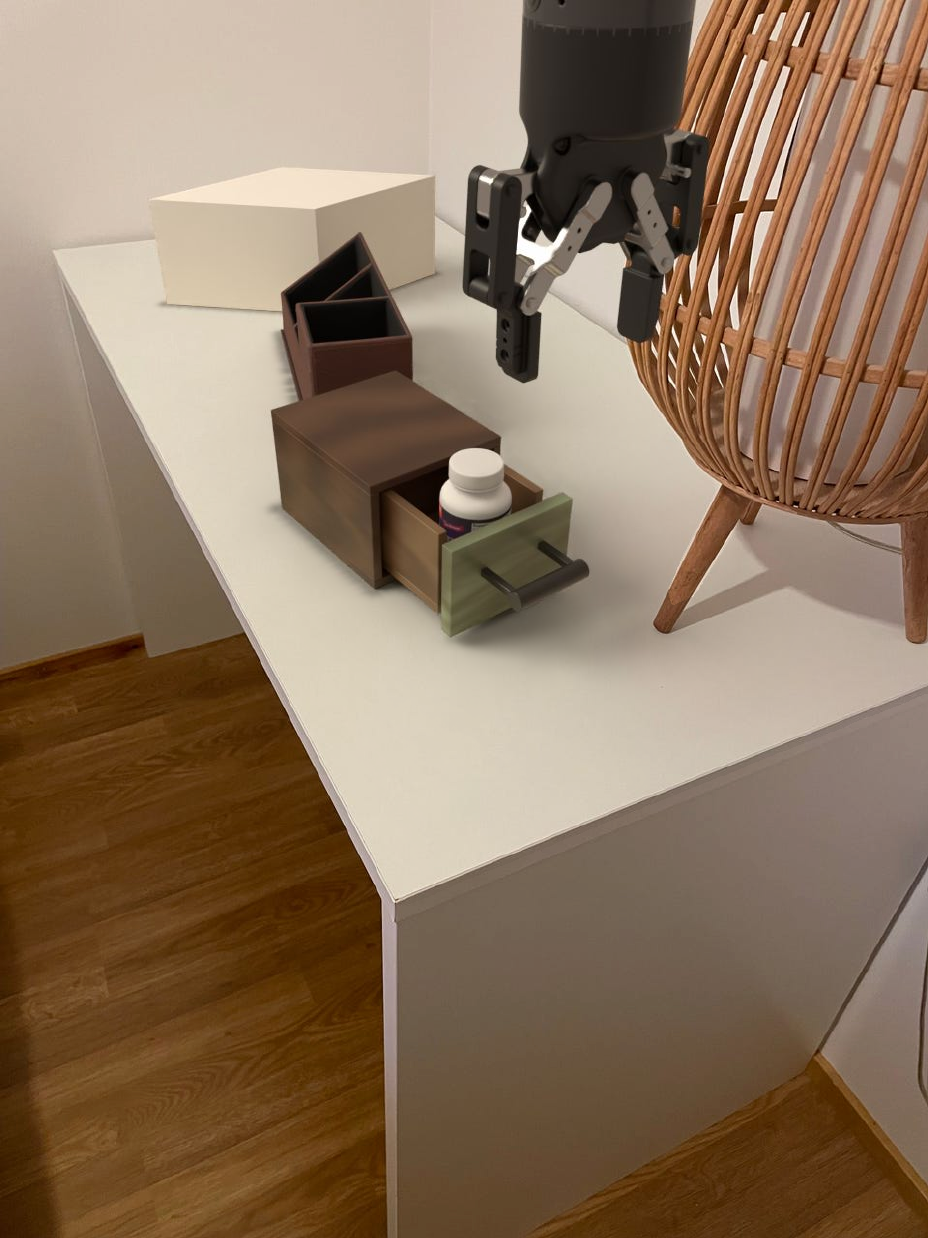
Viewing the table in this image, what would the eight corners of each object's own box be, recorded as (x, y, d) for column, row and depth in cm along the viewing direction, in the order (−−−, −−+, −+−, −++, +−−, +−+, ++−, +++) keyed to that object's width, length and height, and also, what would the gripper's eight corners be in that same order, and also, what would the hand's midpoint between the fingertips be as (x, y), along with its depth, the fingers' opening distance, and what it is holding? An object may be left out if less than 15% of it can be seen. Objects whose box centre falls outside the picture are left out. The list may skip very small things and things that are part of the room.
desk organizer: (312, 459, 93) (302, 347, 85) (280, 333, 114) (270, 235, 107) (420, 448, 95) (420, 337, 87) (368, 326, 116) (364, 229, 109)
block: (158, 278, 126) (140, 177, 119) (414, 251, 136) (413, 156, 128) (176, 331, 114) (157, 223, 106) (457, 297, 124) (459, 195, 116)
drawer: (606, 612, 74) (618, 527, 69) (491, 673, 69) (496, 586, 64) (459, 506, 85) (461, 426, 80) (350, 551, 80) (344, 469, 75)
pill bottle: (427, 558, 77) (427, 451, 71) (488, 542, 79) (493, 436, 73) (456, 597, 74) (458, 487, 67) (519, 580, 76) (527, 471, 69)
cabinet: (496, 535, 84) (501, 436, 77) (374, 589, 77) (369, 486, 71) (398, 464, 92) (395, 369, 86) (281, 507, 86) (270, 409, 80)
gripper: (542, 33, 37) (524, 419, 47) (780, 3, 44) (719, 346, 54) (426, 10, 42) (432, 367, 52) (658, -14, 48) (623, 306, 59)
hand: (579, 356), depth 53 cm, fingers open, 8 cm apart
